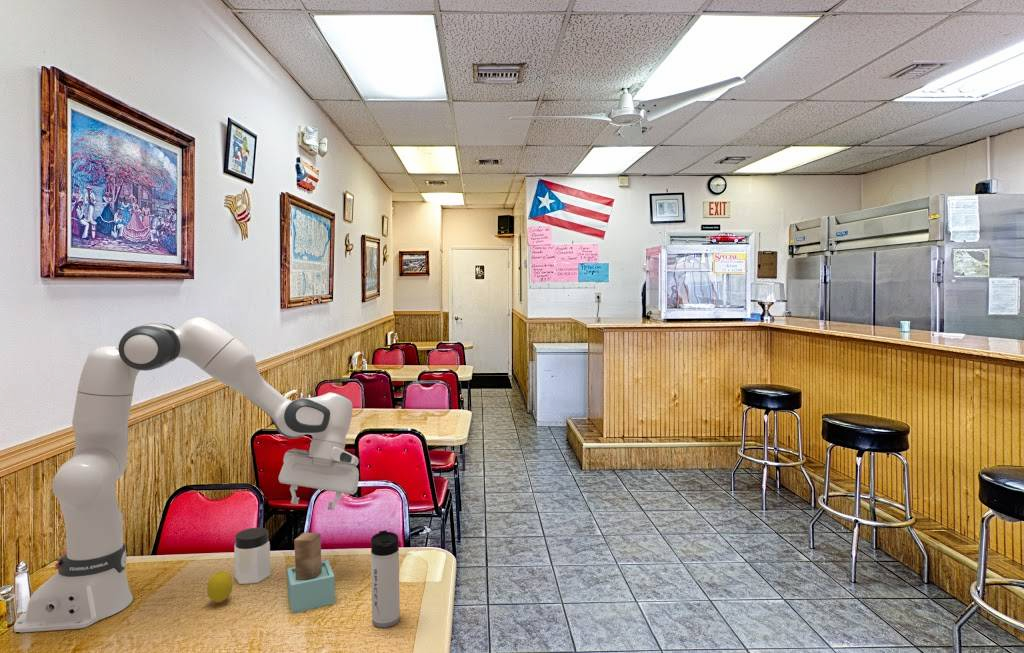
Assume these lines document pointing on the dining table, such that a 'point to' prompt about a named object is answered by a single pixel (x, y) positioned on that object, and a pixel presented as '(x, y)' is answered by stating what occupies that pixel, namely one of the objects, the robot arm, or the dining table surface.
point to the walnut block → (308, 556)
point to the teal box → (311, 589)
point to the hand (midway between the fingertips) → (312, 506)
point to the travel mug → (385, 579)
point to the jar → (252, 555)
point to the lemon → (219, 586)
